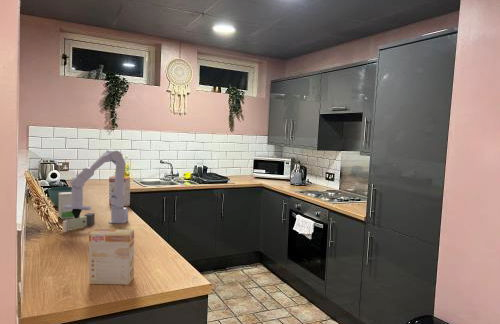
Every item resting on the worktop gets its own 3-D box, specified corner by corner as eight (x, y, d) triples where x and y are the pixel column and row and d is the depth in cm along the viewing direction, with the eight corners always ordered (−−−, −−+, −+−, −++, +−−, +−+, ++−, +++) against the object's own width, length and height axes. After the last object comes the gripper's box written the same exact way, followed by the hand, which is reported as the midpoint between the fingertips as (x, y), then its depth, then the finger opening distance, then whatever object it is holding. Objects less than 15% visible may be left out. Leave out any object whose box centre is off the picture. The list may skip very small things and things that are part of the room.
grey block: (94, 223, 221) (94, 213, 220) (90, 225, 216) (90, 215, 215) (88, 222, 221) (88, 213, 220) (84, 225, 216) (84, 215, 215)
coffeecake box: (134, 277, 146) (134, 229, 144) (129, 285, 139) (129, 234, 137) (95, 276, 145) (95, 228, 143) (88, 284, 138) (88, 233, 136)
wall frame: (80, 223, 218) (80, 213, 217) (65, 232, 200) (65, 220, 200) (77, 223, 218) (77, 212, 217) (62, 232, 200) (62, 220, 200)
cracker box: (108, 205, 269) (108, 176, 267) (113, 203, 275) (114, 175, 273) (125, 207, 265) (125, 178, 263) (130, 205, 271) (130, 177, 269)
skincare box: (60, 219, 226) (60, 194, 225) (58, 217, 231) (57, 192, 230) (75, 217, 231) (75, 193, 230) (72, 215, 236) (72, 191, 235)
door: (87, 226, 212) (87, 216, 211) (70, 229, 204) (70, 220, 203) (85, 225, 213) (85, 216, 212) (68, 229, 205) (68, 219, 204)
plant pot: (49, 203, 266) (49, 187, 265) (77, 202, 274) (76, 186, 273) (47, 209, 250) (47, 191, 249) (77, 207, 258) (76, 190, 256)
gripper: (60, 199, 205) (60, 223, 206) (86, 200, 205) (86, 224, 206) (66, 196, 212) (66, 220, 213) (92, 198, 212) (91, 221, 213)
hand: (76, 222), depth 210 cm, fingers closed, pressing on door
